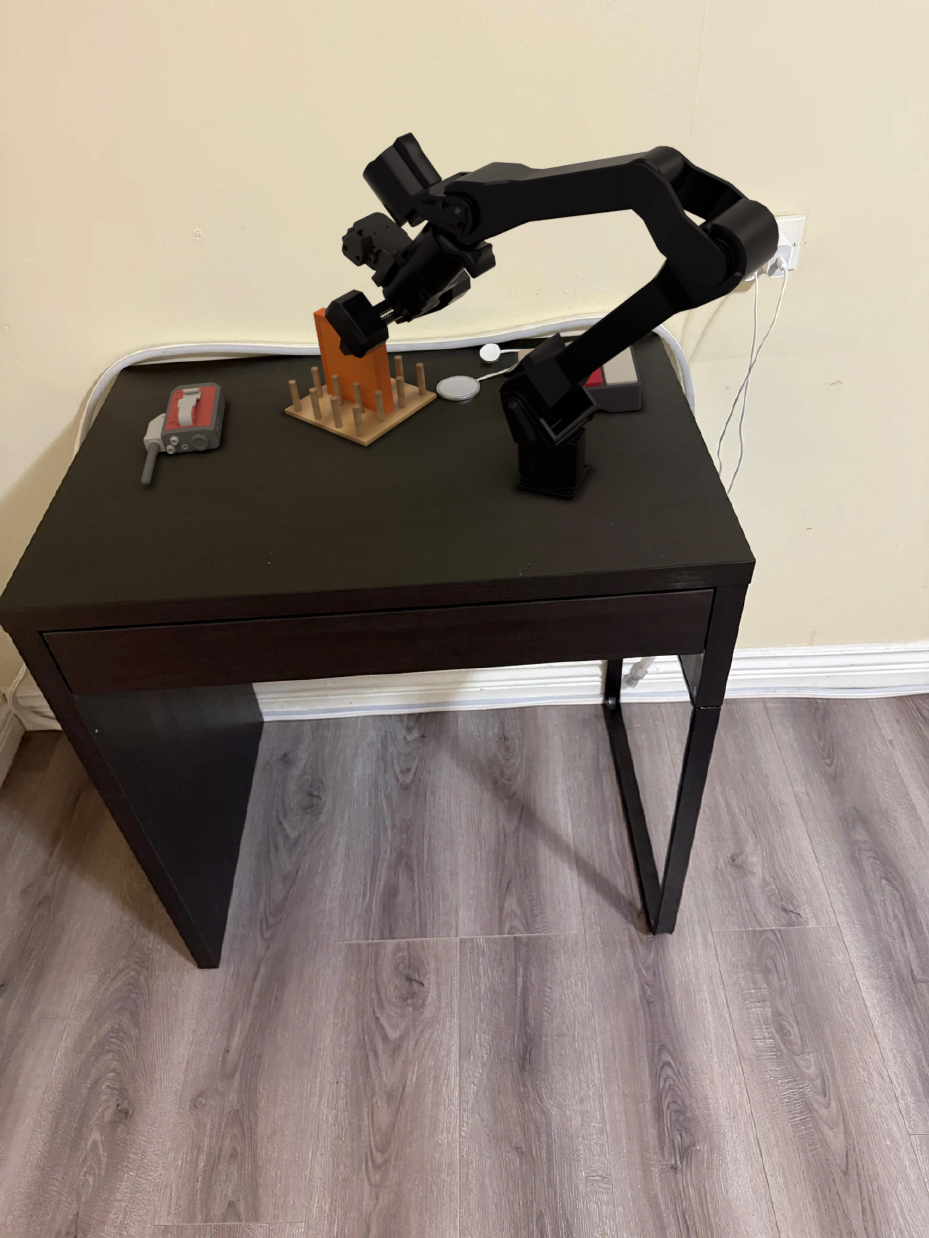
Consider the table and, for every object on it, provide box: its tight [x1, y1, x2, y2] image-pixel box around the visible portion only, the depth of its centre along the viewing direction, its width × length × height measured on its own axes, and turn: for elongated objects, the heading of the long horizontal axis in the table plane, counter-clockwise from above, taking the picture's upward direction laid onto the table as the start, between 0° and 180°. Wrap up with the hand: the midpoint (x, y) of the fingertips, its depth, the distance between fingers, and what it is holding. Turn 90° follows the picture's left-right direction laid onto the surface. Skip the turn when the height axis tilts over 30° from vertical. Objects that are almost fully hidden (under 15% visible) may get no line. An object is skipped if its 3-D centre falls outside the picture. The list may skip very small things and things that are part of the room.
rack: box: [284, 355, 437, 447], centre depth 113 cm, size 14×13×5 cm
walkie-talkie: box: [140, 381, 226, 486], centre depth 110 cm, size 9×4×20 cm
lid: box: [312, 307, 394, 416], centre depth 111 cm, size 10×2×11 cm, turn 52°
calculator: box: [514, 344, 642, 413], centre depth 113 cm, size 11×4×15 cm
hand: (369, 335), depth 106 cm, fingers open, 9 cm apart
